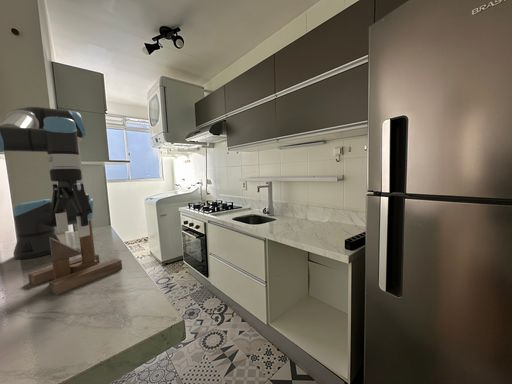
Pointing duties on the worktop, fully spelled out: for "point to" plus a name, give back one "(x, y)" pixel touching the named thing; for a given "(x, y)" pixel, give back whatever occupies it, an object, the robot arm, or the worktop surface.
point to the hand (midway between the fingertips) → (73, 234)
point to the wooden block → (64, 251)
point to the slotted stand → (74, 275)
